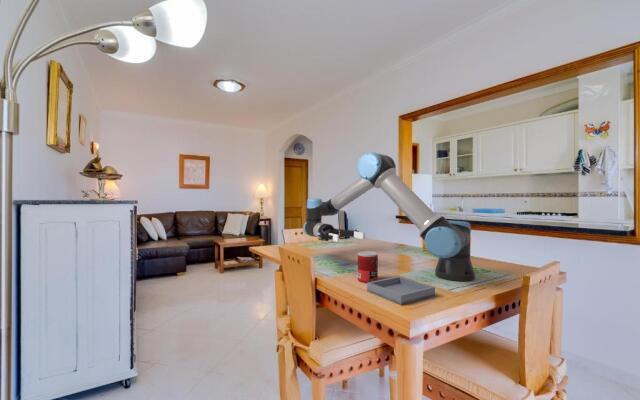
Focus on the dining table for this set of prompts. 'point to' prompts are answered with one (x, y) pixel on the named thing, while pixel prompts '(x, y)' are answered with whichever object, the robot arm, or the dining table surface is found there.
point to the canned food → (367, 266)
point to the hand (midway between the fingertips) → (351, 237)
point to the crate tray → (401, 290)
